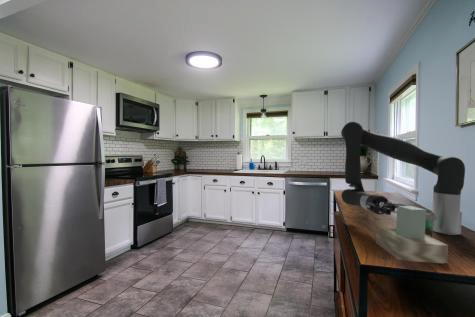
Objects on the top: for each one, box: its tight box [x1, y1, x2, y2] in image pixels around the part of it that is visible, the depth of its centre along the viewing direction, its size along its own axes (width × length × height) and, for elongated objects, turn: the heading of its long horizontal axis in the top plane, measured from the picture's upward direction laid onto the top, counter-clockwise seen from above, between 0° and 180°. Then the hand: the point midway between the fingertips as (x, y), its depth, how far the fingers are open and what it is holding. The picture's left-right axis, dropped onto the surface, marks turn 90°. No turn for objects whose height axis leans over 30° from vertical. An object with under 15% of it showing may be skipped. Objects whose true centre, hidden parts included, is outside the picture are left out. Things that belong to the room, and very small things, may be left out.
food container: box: [425, 210, 437, 238], centre depth 102 cm, size 12×6×10 cm, turn 168°
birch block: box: [375, 227, 449, 264], centre depth 83 cm, size 14×15×6 cm
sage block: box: [395, 205, 427, 239], centre depth 83 cm, size 6×6×10 cm
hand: (401, 212), depth 87 cm, fingers open, 8 cm apart
